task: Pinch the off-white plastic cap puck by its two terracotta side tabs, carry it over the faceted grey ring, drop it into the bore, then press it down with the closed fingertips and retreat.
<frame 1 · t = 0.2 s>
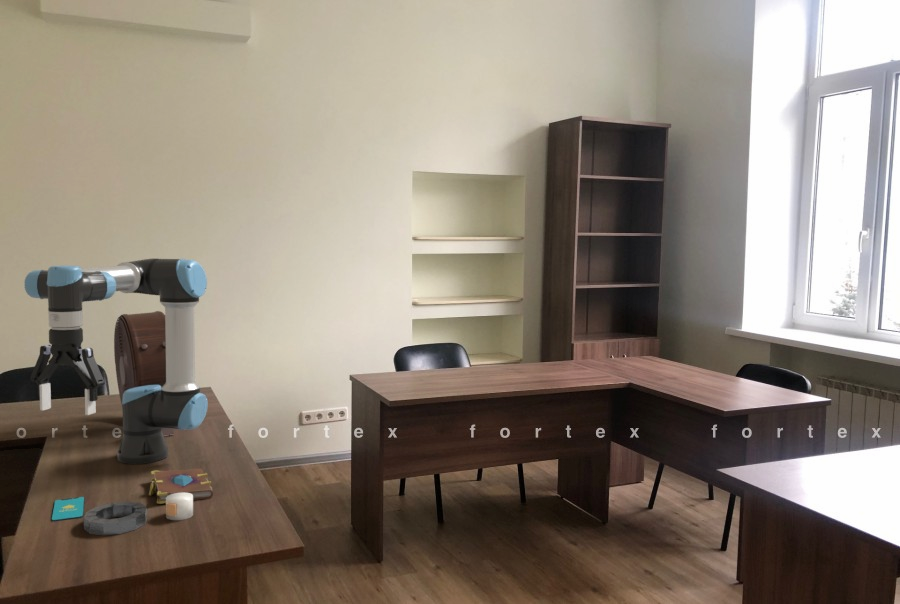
hand: (67, 411, 182), 28 cm above the table, fingers open, 13 cm apart
smartphone: (68, 511, 190), on the table
book: (178, 490, 208), on the table
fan: (147, 428, 270), on the table
faceted grey ring: (116, 523, 181), on the table
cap: (179, 515, 188), on the table
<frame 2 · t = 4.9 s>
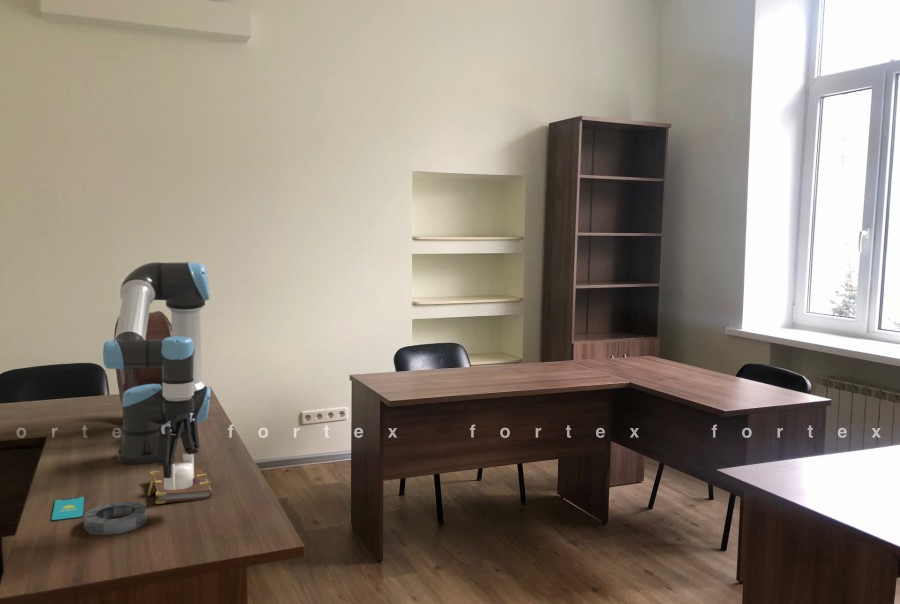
hand: (179, 483, 187), 8 cm above the table, fingers closed on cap, 8 cm apart
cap: (179, 484, 187), point 8 cm above the table, touching gripper
everything else where it was.
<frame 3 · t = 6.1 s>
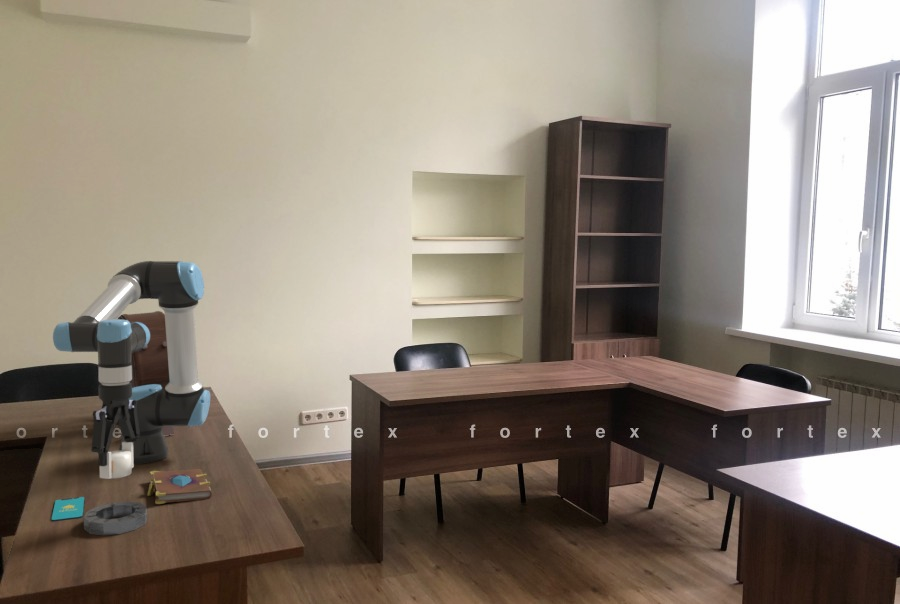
hand: (117, 472, 180), 13 cm above the table, fingers closed on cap, 8 cm apart
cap: (117, 473, 180), point 13 cm above the table, touching gripper
everything else where it was.
when the fingers open (4 cm above the table, at t = 7.6 s): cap drops 3 cm, resting in faceted grey ring.
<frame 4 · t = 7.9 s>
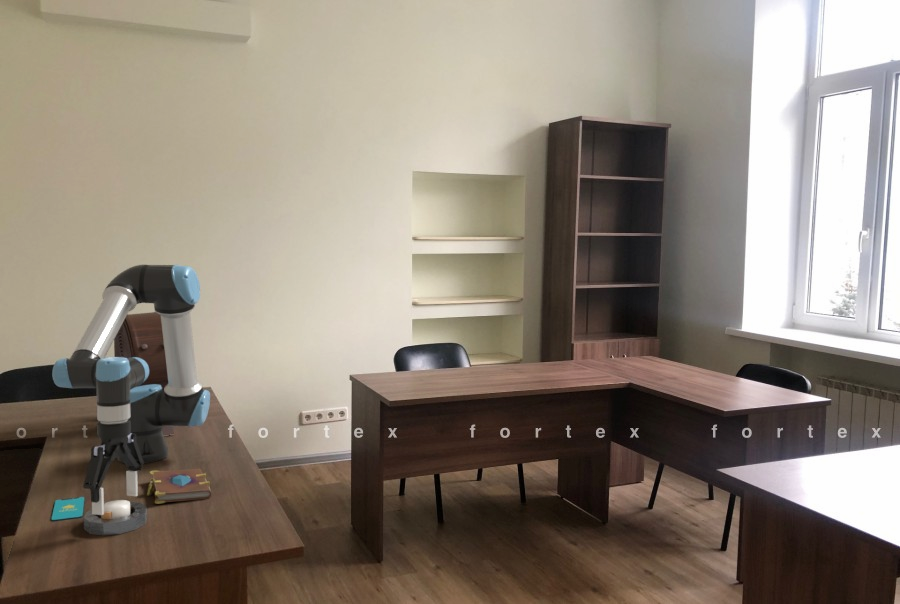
hand: (115, 504, 181), 5 cm above the table, fingers open, 12 cm apart
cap: (116, 524, 181), resting in faceted grey ring
everything else where it was.
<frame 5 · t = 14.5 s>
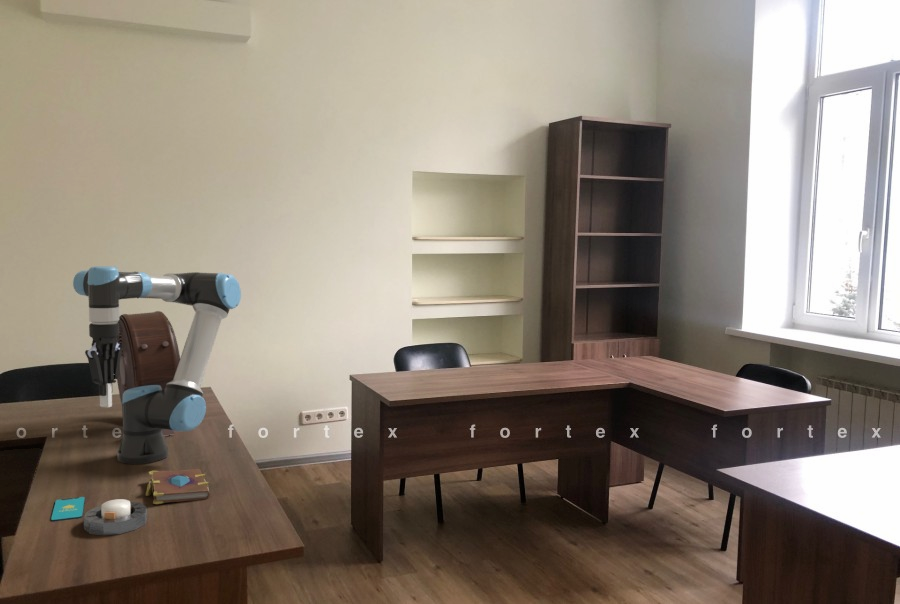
hand: (106, 406, 201), 24 cm above the table, fingers closed
at the end: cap 0.0 cm off-centre on the faceted grey ring, point 0.1 cm above the faceted grey ring's base; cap tilted 3°; the gripper is holding nothing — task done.
